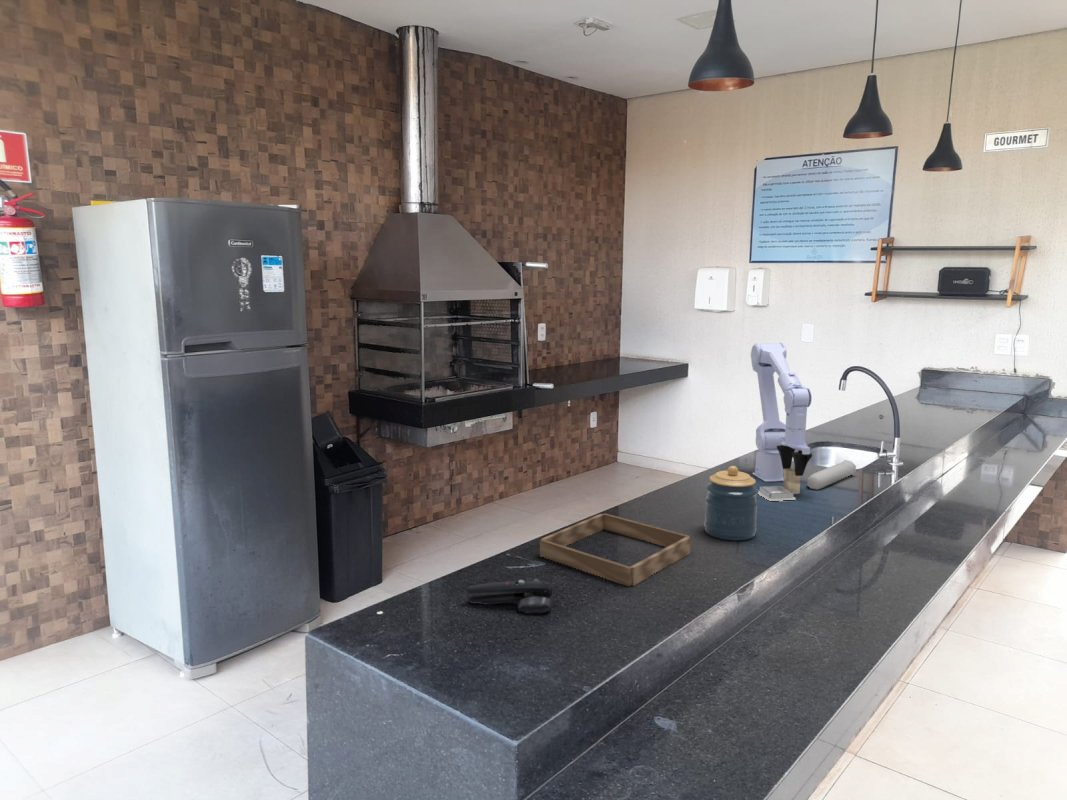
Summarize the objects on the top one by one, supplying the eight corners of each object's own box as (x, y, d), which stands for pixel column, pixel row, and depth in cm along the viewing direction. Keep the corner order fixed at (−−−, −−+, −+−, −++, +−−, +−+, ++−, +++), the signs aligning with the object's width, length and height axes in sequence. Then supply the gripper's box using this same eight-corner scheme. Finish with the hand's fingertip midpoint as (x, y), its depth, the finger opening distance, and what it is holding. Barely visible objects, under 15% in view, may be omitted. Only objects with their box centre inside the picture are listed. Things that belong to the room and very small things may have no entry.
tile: (757, 493, 222) (757, 491, 221) (782, 492, 223) (782, 490, 223) (769, 501, 214) (769, 499, 214) (795, 500, 215) (795, 498, 215)
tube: (823, 480, 223) (858, 465, 239) (807, 471, 226) (843, 457, 243) (816, 495, 225) (852, 479, 242) (801, 486, 228) (837, 471, 245)
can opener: (555, 601, 150) (556, 575, 149) (550, 617, 143) (550, 590, 142) (471, 595, 153) (470, 569, 152) (462, 610, 146) (461, 583, 145)
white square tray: (758, 491, 221) (758, 486, 221) (781, 490, 222) (782, 485, 222) (770, 499, 214) (770, 494, 214) (794, 497, 215) (794, 492, 215)
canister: (700, 537, 185) (703, 470, 182) (707, 521, 197) (710, 457, 194) (754, 544, 181) (758, 475, 178) (757, 527, 193) (761, 462, 190)
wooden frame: (602, 527, 192) (603, 512, 191) (691, 552, 175) (692, 536, 175) (538, 556, 173) (538, 539, 172) (631, 587, 156) (631, 569, 155)
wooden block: (783, 490, 225) (784, 468, 223) (793, 490, 225) (795, 468, 224) (788, 494, 221) (790, 471, 220) (799, 493, 222) (801, 471, 221)
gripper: (771, 423, 226) (769, 466, 228) (795, 433, 212) (792, 479, 214) (792, 422, 227) (790, 465, 230) (817, 432, 213) (814, 478, 215)
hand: (792, 472), depth 222 cm, fingers open, 7 cm apart
